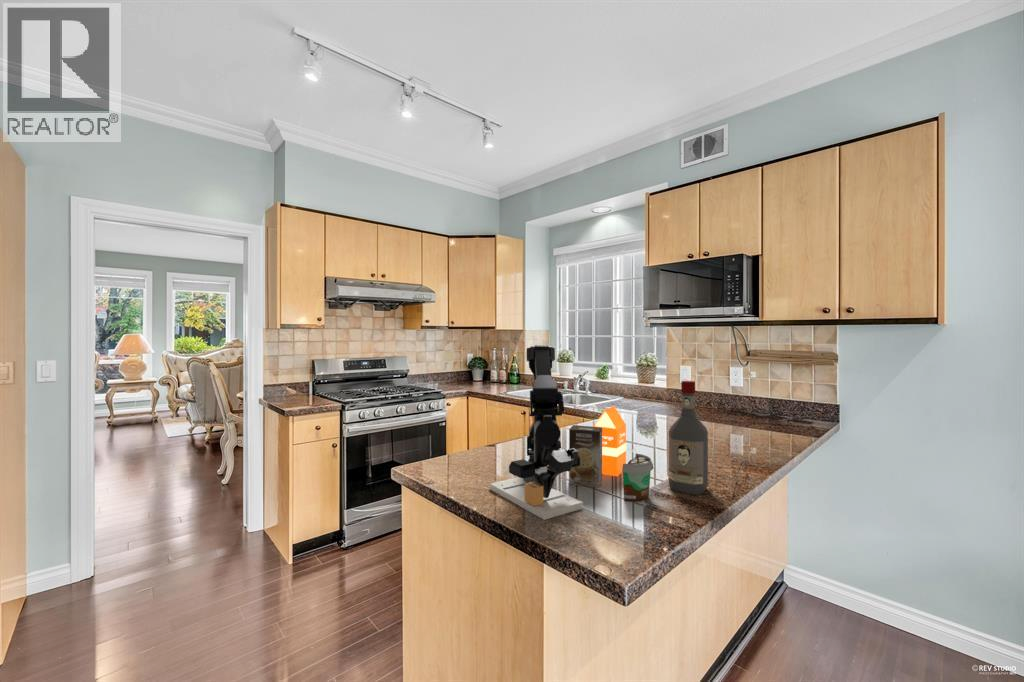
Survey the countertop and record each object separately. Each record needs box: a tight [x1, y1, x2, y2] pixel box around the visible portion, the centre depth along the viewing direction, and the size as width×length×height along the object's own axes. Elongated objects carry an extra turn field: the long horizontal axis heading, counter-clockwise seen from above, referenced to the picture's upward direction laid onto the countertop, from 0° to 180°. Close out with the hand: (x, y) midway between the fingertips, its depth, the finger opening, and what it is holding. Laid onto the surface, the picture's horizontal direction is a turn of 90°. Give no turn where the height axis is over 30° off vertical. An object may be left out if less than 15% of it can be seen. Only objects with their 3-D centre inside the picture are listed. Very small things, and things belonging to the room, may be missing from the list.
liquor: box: [668, 380, 709, 496], centre depth 125 cm, size 9×9×30 cm
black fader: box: [523, 476, 537, 483], centre depth 126 cm, size 3×4×5 cm
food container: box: [622, 453, 654, 503], centre depth 119 cm, size 12×6×10 cm, turn 148°
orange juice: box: [592, 406, 627, 477], centre depth 142 cm, size 8×9×20 cm
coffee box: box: [568, 424, 603, 488], centre depth 131 cm, size 9×6×16 cm
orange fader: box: [525, 482, 543, 506], centre depth 110 cm, size 3×4×5 cm
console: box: [489, 476, 584, 521], centre depth 118 cm, size 12×25×2 cm, turn 33°
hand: (545, 497), depth 112 cm, fingers closed
